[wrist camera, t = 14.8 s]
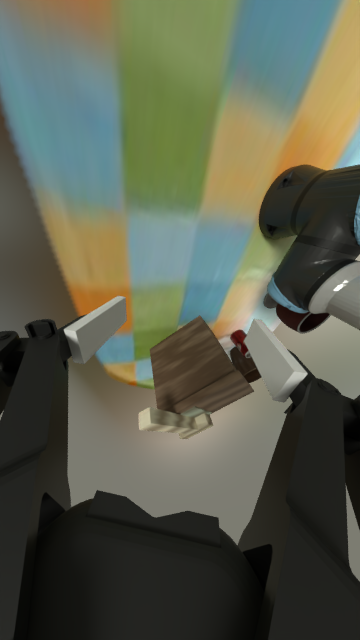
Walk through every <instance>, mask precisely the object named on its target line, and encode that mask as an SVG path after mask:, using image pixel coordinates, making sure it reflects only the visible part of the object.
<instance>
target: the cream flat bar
mask: <svg viewBox="0 0 360 640" xmlns="http://www.w3.org/2000/svg"><path fill="white" fill-rule="evenodd" d="M212 426H213V423H212V420H211V418H210V415H209V414H206V413H203V414H202V415H200V416H198V417H196V418H192V417H188V416H184V415H180V414H176V413H172V412H168V411H164V410H160V409H155V408H151V407H148V408H147V409H145V410H143V411H142V412H140V413H139V430H148V431H160V432H172V433H179V436H180V439H188V438H190V437H192V436H194V435H196V434H198V433H200V432H202V431H204V430H206V429H207V428H210V427H212Z"/></svg>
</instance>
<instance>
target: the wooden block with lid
mask: <svg viewBox="0 0 360 640" xmlns="http://www.w3.org/2000/svg"><path fill="white" fill-rule="evenodd" d="M150 355H151V363H152V371H153V379H154V386H155V394H156V401H157V409H160V410H164V411H168V412H172V413H176V414H180V415H184V416H188V417H192V418H196V417H198V416H200V415H202V414H203V413H206V414H209V415H210V414H212V413H213V412H215V411H217V410H219V409H221V408H223V407H225V406H227V405H229V404H230V403H233V402H234V401H237V400H238V399H240V398H242V397H244V396H246V395H248V394H250V393H252V392H254V390H253V389H252V387H251V386H250V384H249V383H248V382H247V381H246V379H245V378H244V377H243V375H242V374H241V373H240V371H239V370H236V368H235V367H234V365H233V364H232V362H231V360H230V359H229V357H228V356H227V354H226V353H225V351H224V349H223V348H222V346H221V345H220V343H219V342H218V340H217V338H216V337H215V335H214V334H213V332H212V331H211V330H210V328H209V327H208V325H207V324H206V323H205V321H204V320H203V319H202V317H201V316H198V317H197V318H196V319H194V320H193V321H191V322H190V323H188V324H187V325H185V326H184V327H182V328H181V329H179V330H178V331H176V332H175V333H173V334H172V335H170V336H169V337H167V338H166V339H164V340H163V341H161V342H160V343H158V344H157V345H156V346H154V347H153V348H151V349H150Z"/></svg>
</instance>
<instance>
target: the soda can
mask: <svg viewBox="0 0 360 640" xmlns="http://www.w3.org/2000/svg"><path fill="white" fill-rule="evenodd" d="M246 336H247V334H246V333H245V332H244V331H243V330H236V331H234V332H233V333H232V334H231V337H230V338H231V340H232V342H233V343H234V344H235V346H236V347H237V348H238V350H239V351H240V352H241V354H242V355H243V356H244V357H246V358H250V357H252V356H251V354H250V352H249V350H248V348H247V346H246V344H245V342H244V340H245V338H246Z"/></svg>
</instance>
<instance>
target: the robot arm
mask: <svg viewBox="0 0 360 640" xmlns="http://www.w3.org/2000/svg"><path fill="white" fill-rule="evenodd" d="M259 225H260V229H261V231H262V233H263V234H264V235H265V236H267V237H270V238H275V239H279V238H285V237H290V236H295V235H298V236H297V237H296V239H295V241H294V242H293V244H292V246H291V247H290V249H289V251H288V252H287V254H286V255H285V257H284V259H283V260H282V262H281V264H280V265H279V267H278V269H277V270H276V272H275V273H274V274H273V275H272V279H271V280H270V282H269V284H268V287H267V291H268V293H269V295H270V296H271V297H272V298H273V299H274V300H275V301H276V302H277V303H279V304H280V305H282V306H284V307H287V308H288V309H289V310H292V311H294V312H297V313H307V312H311V313H313V314H318V313H329V314H331V315H333V316H334V317H336V318H338V319H340V320H342V321H344V322H346V323H348V324H349V325H351V326H353V327H355V328H357V329H359V330H360V261H357V260H355V259H356V258H357V257H358V255H359V254H360V165H355V166H349V167H344V168H339V169H334V170H328V171H326V170H323V169H320V168H317V167H314V166H311V165H299V166H295V167H292V168H289V169H287V170H286V171H284V172H283V173H282V174H281V175H280V176H278V178H277V179H276V180H275V181H274V182H273V183H272V185H271V186H270V188H269V190H268V191H267V193H266V195H265V197H264V200H263V202H262V205H261V209H260V214H259ZM126 321H127V319H126V300H125V297H122V296H117V297H116V298H114V299H112V300H111V301H109V302H107V303H106V304H104V305H102V306H101V307H99V308H97V309H96V310H94V311H93V312H91V313H89V314H88V315H87V314H86V315H83V316H80V317H79V318H77V319H75V320H73V321H72V322H70V323H68V324H67V325H65V326H63V327H61V328H60V329H58V330H57V328H56V325H55V322H54V321H53V320H50V319H42V320H36V321H33V322H31V323H28V324H27V325H26V326H25V329H26V331H27V333H28V336H29V338H19V336H18V334H17V332H15V331H2V332H0V414H1V413H2V411H3V410H4V412H3V415H2V417H1V420H0V640H360V582H359V581H358V579H357V578H356V577H355V576H354V575H353V573H352V571H351V568H350V566H349V559H348V535H347V510H346V486H347V490H348V493H349V496H350V500H351V502H352V506H353V510H354V513H355V516H356V519H357V523H358V526H359V529H360V395H359V396H358V397H357V398H356V399H354V400H353V399H351V398H348V397H345V396H343V395H341V393H340V392H339V391H338V389H336V388H335V387H334V386H333V385H331V384H330V383H328V382H326V381H324V380H322V379H318V378H315V376H314V375H313V374H312V373H311V372H310V371H309V370H308V368H306V366H305V365H303V363H302V362H301V361H300V360H299V359H298V357H297V356H296V355H295V354H294V353H292V352H291V351H289V350H288V349H286V348H285V347H284V345H283V344H282V343H281V342H280V341H279V340H278V339H277V338H276V336H275V335H274V334H273V333H272V332H271V330H270V329H269V328H268V327H267V326H266V325H265V324H264V322H263V321H262V320H257V319H254V320H253V322H252V324H251V327H250V329H249V331H248V334H247V336H246V338H245V340H244V342H245V344H246V346H247V348H248V350H249V352H250V354H251V356H252V358H253V360H254V362H255V364H256V366H257V369H258V371H259V373H260V375H261V377H262V379H263V381H264V383H265V385H266V387H267V389H268V391H269V393H270V395H271V397H272V399H273V400H275V401H280V402H285V401H286V400H287V399H288V397H290V398H291V400H292V402H293V403H292V404H291V405H290V406H289V408H288V409H287V410H286V411H285V412H284V413H287V416H286V419H285V422H284V425H283V427H282V430H281V433H280V436H279V439H278V442H277V445H276V448H275V451H274V454H273V457H272V460H271V463H270V465H269V468H268V471H267V474H266V477H265V480H264V483H263V486H262V489H261V492H260V495H259V498H258V500H257V503H256V506H255V509H254V512H253V515H252V518H251V520H250V522H249V523H248V525H247V526H246V528H245V530H244V531H243V533H242V535H241V538H240V540H239V543H238V546H237V545H236V543H235V542H234V541H233V540H232V539H231V537H230V536H228V535H227V534H226V533H225V532H224V531H223V530H222V529H220V528H219V520H218V518H217V517H213V516H208V515H204V514H199V513H195V512H191V511H185V512H180V513H176V514H172V515H167V516H162V517H157V518H155V517H152V516H151V515H149V514H148V513H146V512H145V511H144V510H143V509H141V508H140V507H139V506H137V505H136V504H135V503H133V502H132V501H131V500H129V499H128V498H127V497H125V496H120V495H116V494H111V493H107V492H103V491H98V490H97V491H96V494H95V496H94V498H93V499H89V500H86V501H84V502H81V503H79V504H77V505H75V506H73V507H71V500H70V489H69V484H68V477H67V462H68V461H67V459H68V458H67V457H68V455H67V453H68V361H67V359H68V358H70V357H71V356H72V358H73V362H76V363H81V364H85V363H86V362H87V361H88V360H89V359H90V358H91V356H92V355H93V354H94V353H95V352H96V351H97V350H98V349H99V348H100V347H101V346H102V345H103V344H104V343H105V342H106V341H107V340H108V339H109V338H110V337H111V336H112V335H113V334H114V333H115V332H116V331H117V330H118V329H119V328H120V327H121V326H122V325H123V324H124V323H125V322H126ZM345 483H346V484H345ZM345 485H346V486H345Z"/></svg>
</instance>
